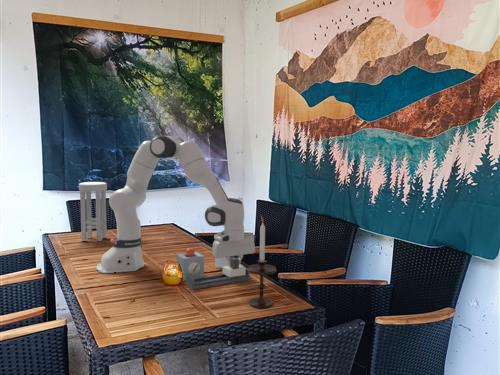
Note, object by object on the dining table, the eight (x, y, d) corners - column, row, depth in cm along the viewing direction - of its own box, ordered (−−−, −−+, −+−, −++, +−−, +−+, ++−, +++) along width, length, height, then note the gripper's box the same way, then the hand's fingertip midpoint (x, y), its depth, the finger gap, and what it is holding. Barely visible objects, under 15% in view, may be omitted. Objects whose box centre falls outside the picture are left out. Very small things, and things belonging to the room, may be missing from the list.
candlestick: (254, 311, 163) (255, 218, 159) (242, 301, 173) (244, 213, 169) (280, 307, 167) (282, 216, 163) (267, 297, 177) (269, 211, 173)
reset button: (187, 260, 199) (187, 250, 198) (184, 258, 202) (184, 248, 202) (196, 259, 201) (196, 249, 200) (192, 256, 204) (192, 247, 204)
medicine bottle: (229, 269, 215) (229, 244, 213) (215, 267, 216) (215, 244, 215) (232, 264, 222) (232, 241, 220) (219, 263, 223) (219, 240, 222)
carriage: (229, 277, 194) (229, 261, 193) (222, 272, 200) (222, 257, 199) (245, 274, 198) (245, 259, 197) (237, 270, 204) (238, 255, 203)
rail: (192, 289, 185) (192, 279, 184) (185, 284, 192) (185, 274, 191) (250, 279, 199) (250, 270, 198) (241, 274, 206) (241, 265, 205)
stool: (102, 243, 262) (101, 184, 258) (76, 242, 262) (74, 184, 258) (111, 237, 277) (109, 182, 273) (86, 236, 277) (85, 181, 273)
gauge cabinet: (184, 281, 195) (184, 259, 194) (176, 275, 203) (176, 254, 202) (204, 277, 201) (204, 256, 199) (196, 272, 208) (196, 251, 207)
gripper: (250, 231, 205) (250, 260, 206) (210, 235, 194) (210, 266, 196) (257, 233, 199) (257, 263, 201) (217, 238, 189) (217, 270, 191)
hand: (233, 265), depth 198 cm, fingers closed on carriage, 3 cm apart
